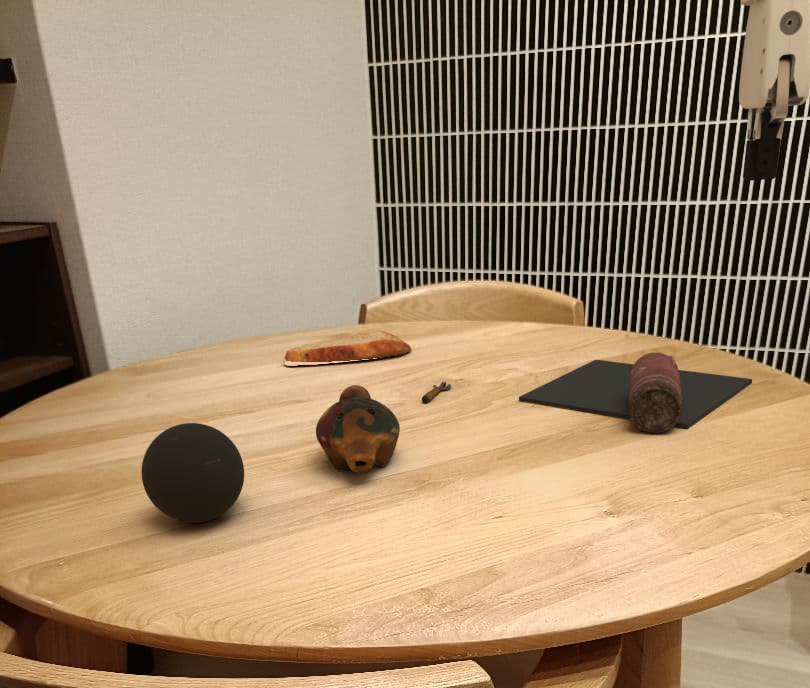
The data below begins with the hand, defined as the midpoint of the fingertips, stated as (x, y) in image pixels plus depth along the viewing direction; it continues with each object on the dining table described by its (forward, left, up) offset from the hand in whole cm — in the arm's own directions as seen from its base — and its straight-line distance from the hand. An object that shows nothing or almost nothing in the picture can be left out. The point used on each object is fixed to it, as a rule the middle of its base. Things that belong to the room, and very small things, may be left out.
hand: (759, 178), depth 92 cm
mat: (+14, -2, -27) cm, 31 cm away
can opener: (+38, +12, -27) cm, 48 cm away
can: (+4, +13, -24) cm, 28 cm away
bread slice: (+65, +2, -27) cm, 71 cm away
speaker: (+33, +58, -27) cm, 72 cm away
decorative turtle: (+29, +38, -27) cm, 55 cm away
